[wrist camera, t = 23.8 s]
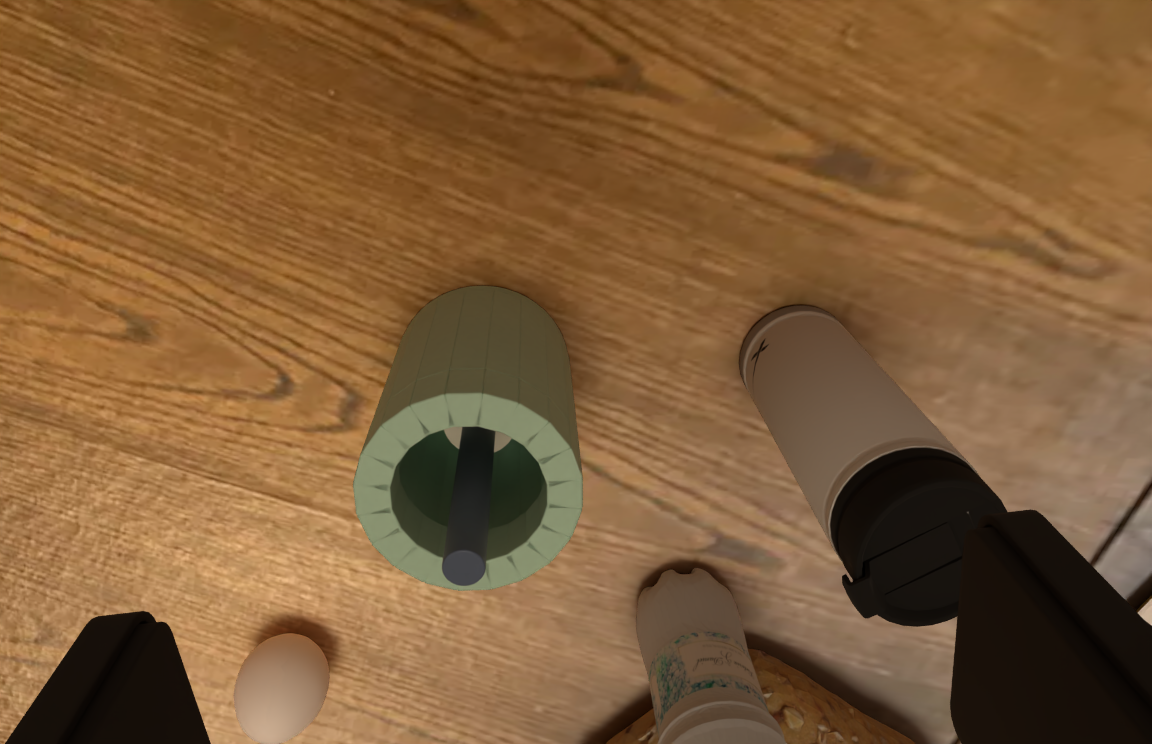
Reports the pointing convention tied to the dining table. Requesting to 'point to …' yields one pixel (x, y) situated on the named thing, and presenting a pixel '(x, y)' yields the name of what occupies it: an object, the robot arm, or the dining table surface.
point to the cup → (466, 399)
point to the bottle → (700, 664)
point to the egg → (281, 688)
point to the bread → (792, 711)
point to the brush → (470, 503)
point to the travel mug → (866, 465)
